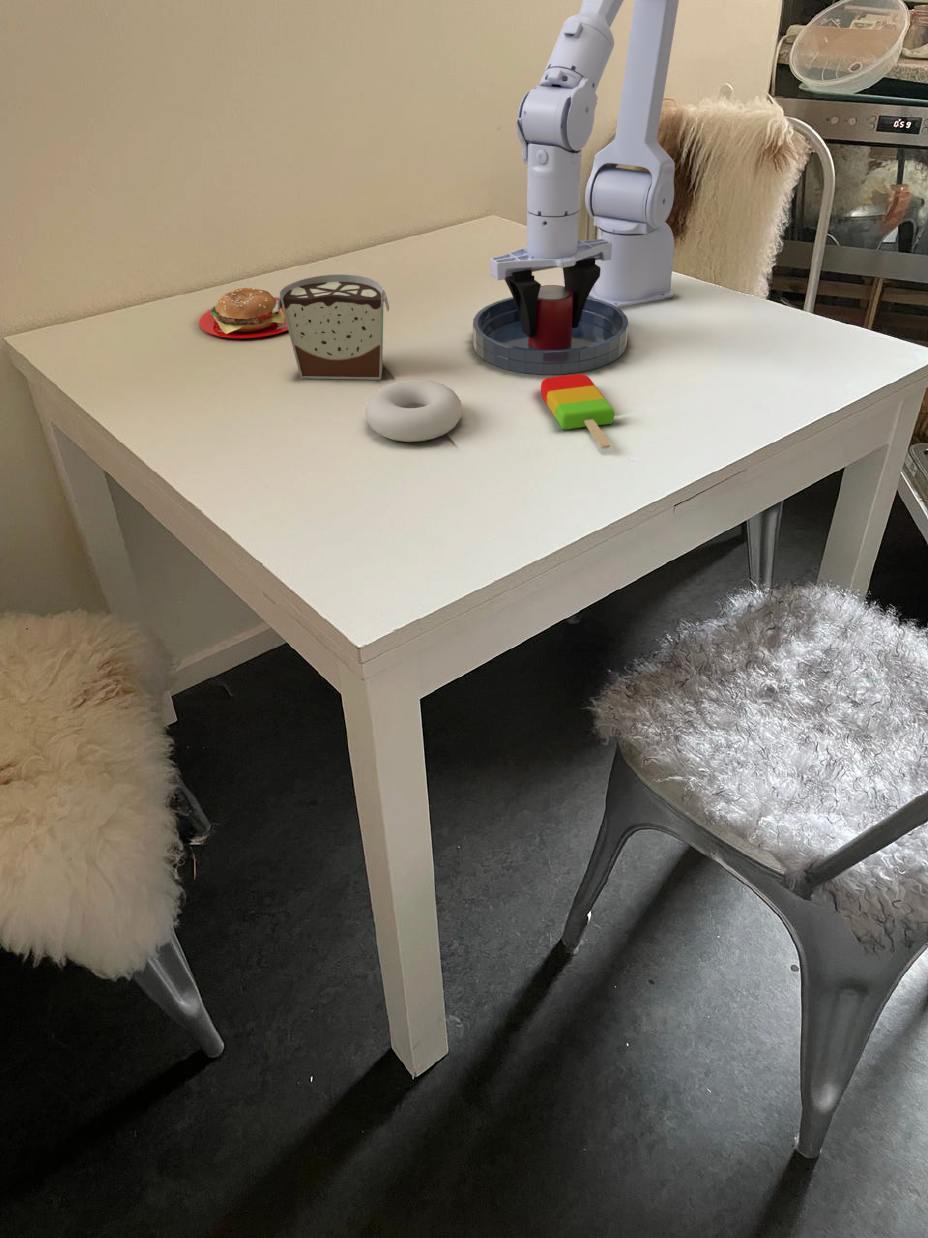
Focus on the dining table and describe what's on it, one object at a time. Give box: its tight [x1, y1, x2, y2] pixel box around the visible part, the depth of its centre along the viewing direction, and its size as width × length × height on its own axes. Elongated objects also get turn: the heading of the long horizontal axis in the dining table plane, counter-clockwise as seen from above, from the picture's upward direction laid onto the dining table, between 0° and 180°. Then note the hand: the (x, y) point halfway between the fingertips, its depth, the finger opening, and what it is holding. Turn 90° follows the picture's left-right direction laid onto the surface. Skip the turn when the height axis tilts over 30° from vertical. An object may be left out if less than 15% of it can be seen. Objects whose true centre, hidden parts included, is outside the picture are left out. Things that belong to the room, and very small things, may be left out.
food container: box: [277, 273, 390, 381], centre depth 109 cm, size 12×6×10 cm, turn 84°
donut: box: [365, 379, 463, 443], centre depth 99 cm, size 10×4×10 cm
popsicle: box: [540, 373, 615, 449], centre depth 99 cm, size 6×15×2 cm, turn 12°
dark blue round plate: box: [472, 296, 629, 376], centre depth 114 cm, size 18×18×3 cm
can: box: [528, 284, 574, 350], centre depth 113 cm, size 5×5×6 cm
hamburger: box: [198, 286, 289, 339], centre depth 123 cm, size 14×14×6 cm
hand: (549, 329), depth 114 cm, fingers closed on can, 5 cm apart
